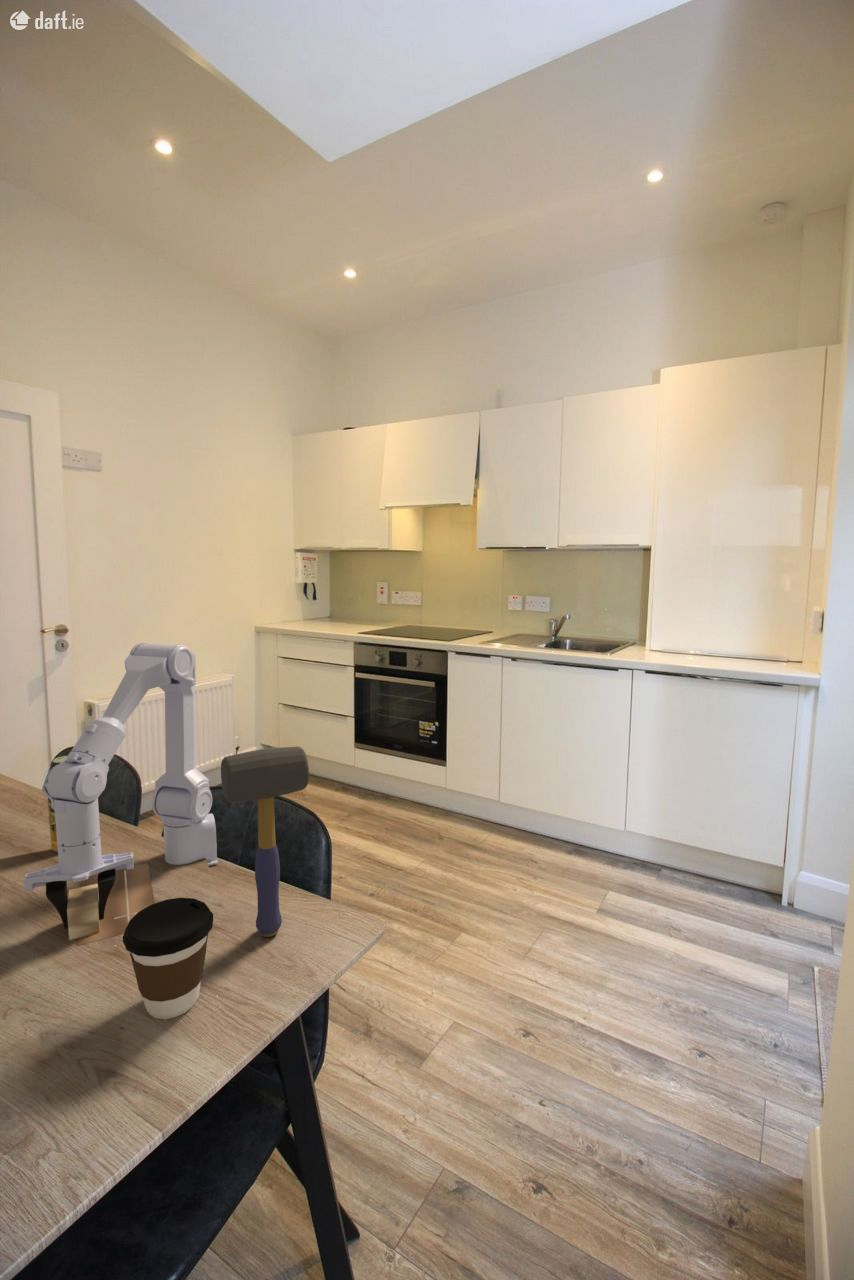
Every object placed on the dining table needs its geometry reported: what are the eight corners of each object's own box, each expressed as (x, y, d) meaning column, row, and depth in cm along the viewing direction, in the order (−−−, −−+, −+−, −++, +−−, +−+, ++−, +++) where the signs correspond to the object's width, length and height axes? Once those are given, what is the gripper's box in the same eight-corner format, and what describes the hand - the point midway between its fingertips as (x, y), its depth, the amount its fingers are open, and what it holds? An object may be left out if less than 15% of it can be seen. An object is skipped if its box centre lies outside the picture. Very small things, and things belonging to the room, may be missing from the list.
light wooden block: (100, 919, 95) (97, 883, 95) (99, 939, 90) (97, 902, 89) (71, 926, 93) (68, 889, 93) (69, 947, 88) (66, 909, 88)
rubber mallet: (233, 958, 87) (226, 763, 83) (224, 930, 93) (217, 749, 90) (314, 933, 93) (311, 751, 89) (300, 909, 99) (297, 738, 95)
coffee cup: (190, 963, 85) (187, 886, 84) (232, 998, 79) (229, 915, 77) (112, 1005, 77) (107, 921, 76) (151, 1049, 70) (146, 957, 69)
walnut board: (148, 870, 111) (148, 862, 111) (158, 933, 92) (157, 924, 92) (82, 884, 106) (81, 877, 106) (77, 955, 87) (77, 945, 87)
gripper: (18, 860, 83) (25, 949, 85) (132, 838, 90) (137, 920, 92) (24, 840, 89) (31, 923, 91) (130, 821, 96) (135, 898, 98)
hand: (84, 920), depth 92 cm, fingers closed on light wooden block, 4 cm apart
